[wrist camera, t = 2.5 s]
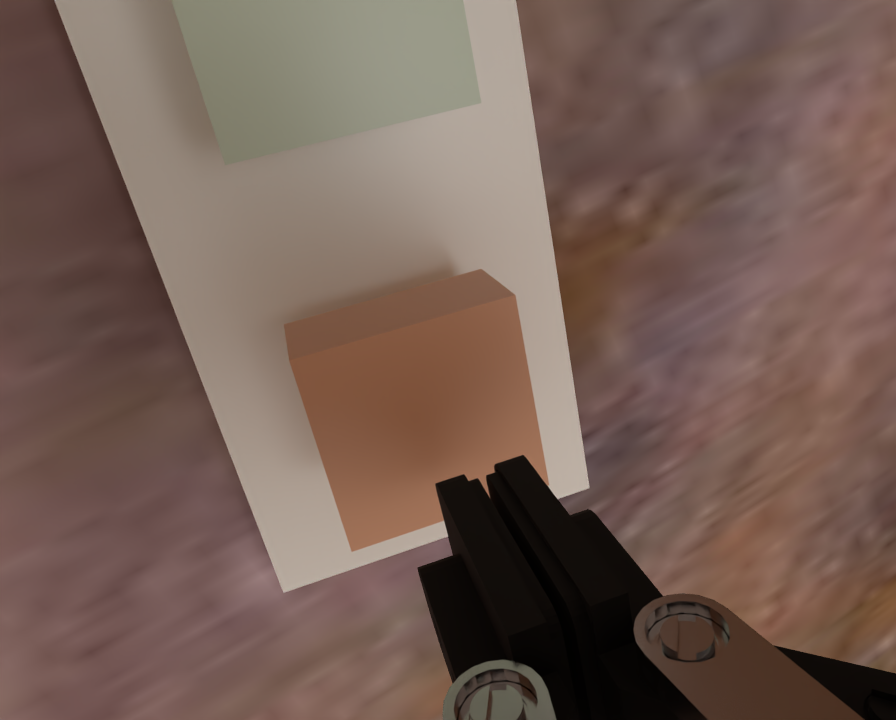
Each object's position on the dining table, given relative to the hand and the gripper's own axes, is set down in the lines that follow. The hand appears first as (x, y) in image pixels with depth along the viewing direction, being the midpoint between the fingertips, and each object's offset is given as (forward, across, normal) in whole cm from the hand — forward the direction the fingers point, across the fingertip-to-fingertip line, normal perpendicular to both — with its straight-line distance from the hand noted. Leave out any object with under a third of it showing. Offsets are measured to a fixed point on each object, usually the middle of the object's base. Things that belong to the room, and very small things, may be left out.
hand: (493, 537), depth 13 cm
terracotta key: (+6, 0, -1) cm, 6 cm away
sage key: (+6, 0, -10) cm, 11 cm away
